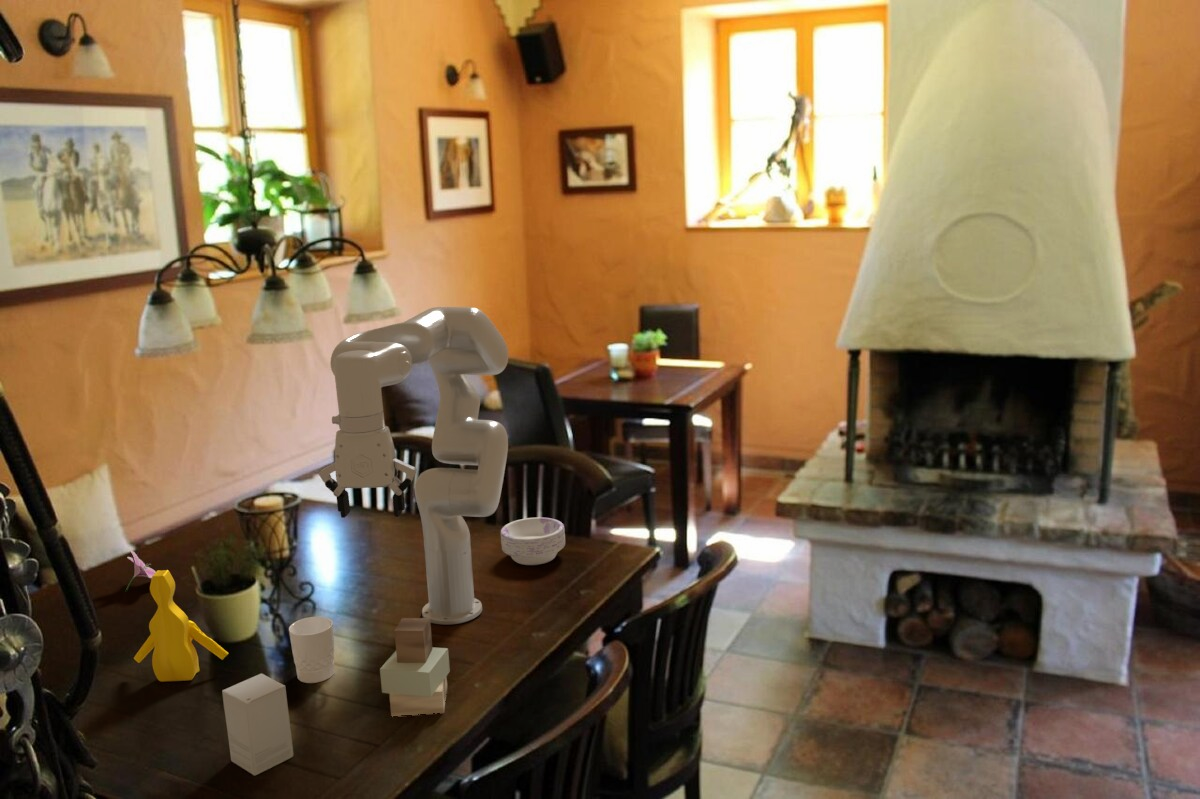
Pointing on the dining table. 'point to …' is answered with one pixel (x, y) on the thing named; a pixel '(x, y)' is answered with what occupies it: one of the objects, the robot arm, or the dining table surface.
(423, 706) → the base block
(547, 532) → the paper bowls
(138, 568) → the lily
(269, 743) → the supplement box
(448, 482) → the robot arm
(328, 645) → the white cup
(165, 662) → the figure statuette
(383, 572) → the dining table surface
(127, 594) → the dining table surface
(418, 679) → the top block
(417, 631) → the walnut block
